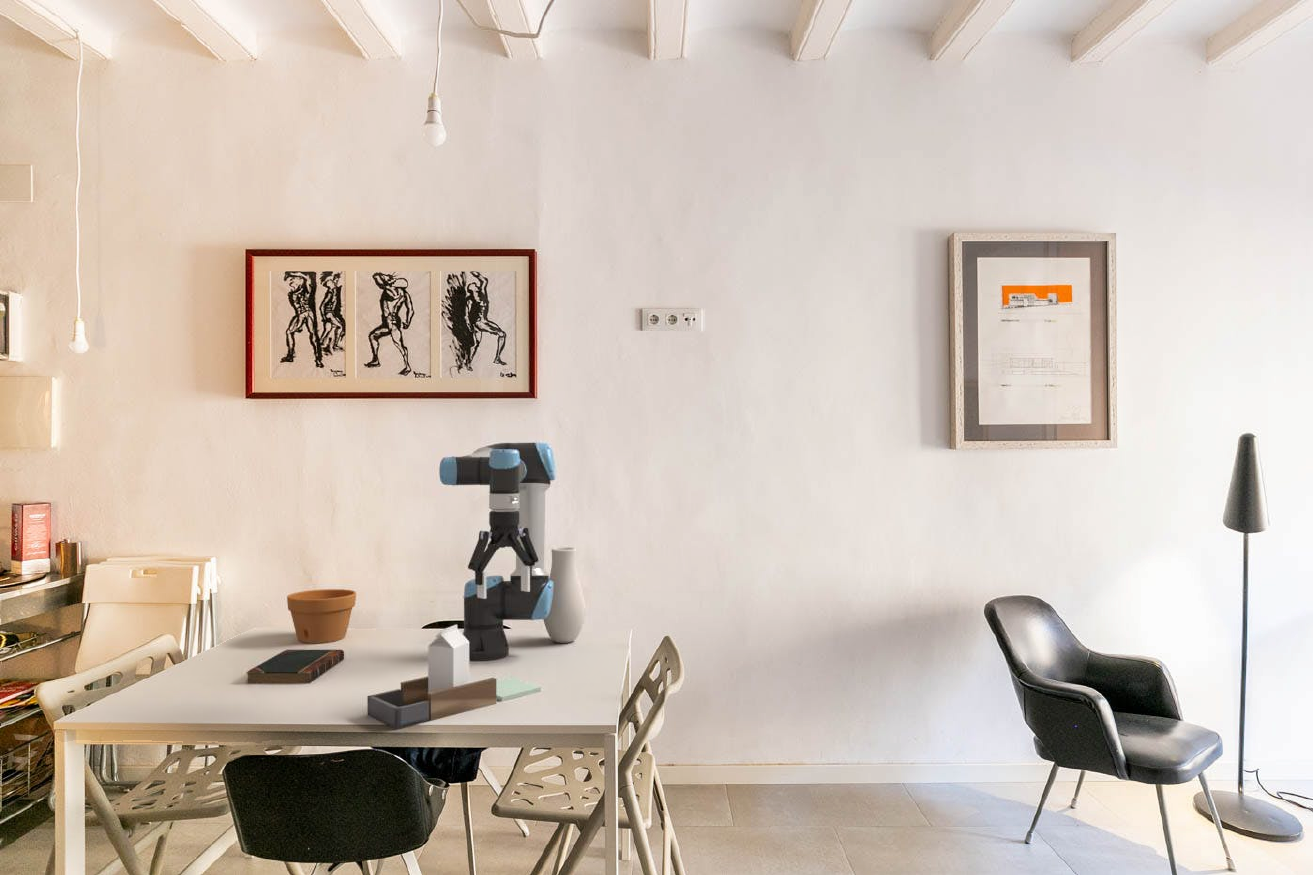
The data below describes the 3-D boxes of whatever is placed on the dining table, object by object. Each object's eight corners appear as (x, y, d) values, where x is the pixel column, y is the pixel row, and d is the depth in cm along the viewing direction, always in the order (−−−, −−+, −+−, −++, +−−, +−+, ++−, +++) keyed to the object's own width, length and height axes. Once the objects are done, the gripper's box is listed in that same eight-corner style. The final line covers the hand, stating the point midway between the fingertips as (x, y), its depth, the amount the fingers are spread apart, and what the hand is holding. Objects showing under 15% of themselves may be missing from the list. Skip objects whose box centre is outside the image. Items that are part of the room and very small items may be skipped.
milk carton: (469, 702, 205) (469, 625, 206) (453, 711, 199) (453, 631, 199) (444, 699, 208) (444, 623, 208) (427, 708, 201) (428, 629, 201)
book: (285, 661, 247) (244, 685, 222) (285, 649, 247) (244, 671, 222) (344, 661, 247) (310, 685, 222) (344, 649, 247) (310, 671, 222)
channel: (400, 707, 202) (400, 682, 202) (465, 691, 215) (465, 668, 215) (430, 720, 192) (430, 694, 192) (496, 703, 205) (496, 678, 205)
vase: (551, 648, 261) (551, 552, 261) (536, 639, 273) (536, 547, 273) (591, 643, 267) (591, 549, 267) (575, 634, 279) (575, 545, 279)
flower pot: (309, 630, 286) (310, 587, 286) (367, 632, 283) (367, 588, 283) (273, 645, 265) (273, 598, 265) (335, 647, 262) (335, 600, 262)
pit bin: (367, 715, 196) (367, 696, 196) (398, 707, 201) (398, 689, 201) (396, 729, 186) (396, 709, 186) (428, 721, 192) (429, 701, 192)
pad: (472, 690, 216) (472, 686, 216) (511, 681, 224) (511, 677, 224) (501, 701, 207) (501, 697, 207) (540, 691, 215) (540, 687, 215)
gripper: (471, 513, 199) (471, 602, 198) (551, 508, 217) (551, 589, 217) (453, 512, 204) (453, 599, 204) (533, 507, 222) (533, 586, 222)
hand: (504, 594), depth 210 cm, fingers open, 13 cm apart
